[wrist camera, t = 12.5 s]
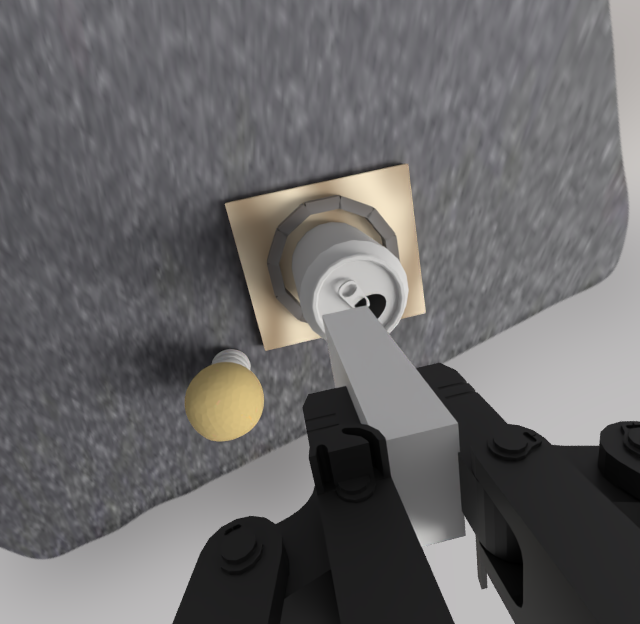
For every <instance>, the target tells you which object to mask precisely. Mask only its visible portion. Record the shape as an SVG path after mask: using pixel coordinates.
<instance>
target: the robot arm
mask: <svg viewBox="0 0 640 624" xmlns="http://www.w3.org/2000/svg"><path fill="white" fill-rule="evenodd" d="M322 318H323V323H324V329H325V334H326V339H327V345H328V350H329V356H330V361H331V366H332V372H333V377H334V382H335V388H334V389H330V390H325V391H321V392H317V393H312V394H308V396H307V399H306V401H305V403H304V405H303V413H304V418H305V424H306V429H307V434H308V440H309V445H310V450H309V461H310V465H311V470H312V474H313V478H314V483H315V487H314V491H313V494H312V495H311V497H310V498H309V500H308V502H307V503H306V504H305V505H304V506H303V507H302V508H301V509H300V510H299V511H297V512H296V513H294V514H293V515H291V516H290V517H288V518H286V519H285V520H283V521H281V522H279V523H277V524H274V523H273V522H271V521H270V520H268V519H266V518H264V517H256V516H249V517H244V518H240V519H236V520H234V521H232V522H230V523H228V524H227V525H224V526H223V527H221V528H220V529H219V530H218V531H217V532H216V533H215V534H214V535H213V536H212V537H210V538H209V540H208V541H207V543H206V545H205V546H204V548H203V550H202V551H201V553H200V556H199V558H198V561H197V563H196V565H195V568H194V571H193V573H192V576H191V578H190V581H189V583H188V586H187V588H186V591H185V593H184V596H183V598H182V601H181V603H180V606H179V608H178V611H177V613H176V616H175V619H174V621H173V624H455V623H454V621H453V619H452V617H451V614H450V612H449V610H448V607H447V605H446V603H445V600H444V598H443V596H442V593H441V591H440V589H439V587H438V584H437V582H436V580H435V577H434V575H433V573H432V570H431V568H430V565H429V563H428V561H427V559H426V556H425V554H424V552H423V549H422V547H424V546H428V545H432V544H435V543H439V542H443V541H447V540H451V539H454V538H459V537H462V536H465V520H464V516H465V517H466V519H467V521H468V522H469V524H470V526H471V527H472V529H473V531H474V532H475V534H476V550H477V566H478V567H477V568H478V579H479V582H480V585H481V588H482V589H485V588H487V574H488V576H489V578H490V579H491V581H492V583H493V585H494V587H495V588H496V590H497V592H498V594H499V595H500V597H501V599H502V601H503V603H504V604H505V606H506V608H507V610H508V612H509V614H510V615H511V617H512V619H513V621H514V623H515V624H640V422H638V421H627V422H626V421H625V422H618V423H614V424H611V425H608V426H607V427H606V428H604V429H603V430H602V431H601V433H600V444H599V446H559V445H551V444H550V443H549V442H548V441H547V440H546V439H545V438H544V437H542V436H541V435H539V434H538V433H536V432H535V431H533V430H531V429H528V428H525V427H522V426H519V425H512V424H507V423H506V422H505V421H504V420H503V419H502V418H501V416H500V415H499V414H498V413H497V412H496V411H495V410H494V409H493V408H492V407H491V406H490V405H489V404H488V403H487V402H486V401H485V400H484V399H483V398H482V397H481V396H480V395H479V394H478V393H476V392H475V390H474V388H473V387H472V386H471V385H470V384H469V383H467V382H466V380H465V379H464V378H463V377H462V376H461V375H460V374H459V373H458V372H457V371H456V370H454V369H452V368H450V367H447V366H445V365H443V364H441V363H437V364H432V365H428V366H423V367H419V368H415V367H414V366H413V364H412V363H411V362H410V360H409V359H408V358H407V357H406V355H405V354H404V353H403V351H402V350H401V349H400V348H399V346H398V345H397V344H396V342H395V341H394V340H393V339H392V337H391V336H390V335H389V333H388V332H387V331H386V329H385V328H384V327H383V326H382V324H381V323H380V322H379V320H378V319H377V318H376V317H375V315H374V314H373V313H372V311H371V310H370V309H369V308H368V306H367V305H366V306H362V307H357V308H352V309H348V310H343V311H339V312H334V313H329V314H325V315H322Z"/></svg>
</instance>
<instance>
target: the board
mask: <svg viewBox="0 0 640 624" xmlns="http://www.w3.org/2000/svg"><path fill="white" fill-rule="evenodd" d="M225 206H226V210H227V213H228V217H229V221H230V224H231V228H232V232H233V235H234V239H235V242H236V246H237V250H238V253H239V257H240V261H241V264H242V268H243V271H244V275H245V279H246V282H247V286H248V290H249V293H250V297H251V300H252V304H253V308H254V311H255V315H256V319H257V322H258V326H259V329H260V333H261V337H262V340H263V344H264V348H265V351H267V350H271V349H275V348H279V347H284V346H288V345H292V344H296V343H301V342H305V341H309V340H313V339H317V338H322V337H320V336H319V335H318V334H317V333H315V332H314V331H313V330H312V329H311V327H310V326H309V324H308V323H307V321H306V320H305V318H304V316H303V312H302V308H301V305H300V301H299V297H298V293H297V288H296V284H295V280H294V276H293V272H292V255H293V253H294V250H295V248H296V245H297V243H298V242H299V241H300V239H301V238H302V237H303V236H304V235H305V233H306V232H308V231H309V230H311V229H313V228H314V227H316V226H317V225H320V224H324V223H328V222H340V223H346V224H348V225H351V226H353V227H355V228H357V229H359V230H360V231H362V232H363V233H365V234H366V235H368V236H369V237H371V238H372V239H373V240H375V241H376V242H378V243H379V244H381V245H382V246H384V247H385V248H387V249H388V250H389V251H390V252H391V253H392V254H393V255H394V256H395V257H396V258H397V259H399V261H400V263H401V265H402V267H403V269H404V271H405V273H406V276H407V282H408V289H409V291H408V297H407V303H406V307H405V309H404V313H403V315H402V317H401V319H402V318H406V317H410V316H415V315H419V314H423V313H426V312H425V303H424V295H423V286H422V278H421V269H420V261H419V252H418V244H417V235H416V227H415V218H414V210H413V201H412V193H411V184H410V176H409V167H408V164H400V165H396V166H391V167H387V168H382V169H378V170H373V171H368V172H364V173H359V174H355V175H350V176H346V177H341V178H336V179H332V180H327V181H323V182H318V183H313V184H309V185H304V186H300V187H295V188H291V189H286V190H281V191H277V192H272V193H268V194H263V195H259V196H254V197H249V198H245V199H240V200H236V201H231V202H227V203H225Z"/></svg>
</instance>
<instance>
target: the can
mask: <svg viewBox="0 0 640 624" xmlns="http://www.w3.org/2000/svg"><path fill="white" fill-rule="evenodd" d="M292 272H293V276H294V280H295V284H296V288H297V293H298V297H299V301H300V305H301V308H302V312H303V316H304V318H305V320H306V321H307V323H308V324H309V326H310V327H311V329H312V330H313V331H314V332H315V333H317V334H318V335H319V336H320V337H322V338H323V339H324V340H326V341H327V339H326V334H325V329H324V323H323V318H322V315H325V314H329V313H334V312H339V311H343V310H348V309H352V308H357V307H362V306H366V305H367V306H368V308H369V309H370V310H371V311H372V313H373V314H374V315H375V317H376V318H377V319H378V320H379V322H380V323H381V324H382V326H383V327H384V328H385V329H386V331H387V332H388V333H390V332H391V331H392V330H393V329H394V328H395V327H396V326H397V325H398V323H399V321H400V319H401V317H402V315H403V313H404V309H405V307H406V303H407V297H408V291H409V289H408V282H407V276H406V273H405V271H404V269H403V267H402V265H401V263H400V261H399V259H397V258H396V257H395V256H394V255H393V254H392V253H391V252H390V251H389V250H388V249H387V248H385V247H384V246H382V245H381V244H379V243H378V242H376V241H375V240H373V239H372V238H371V237H369V236H368V235H366V234H365V233H363V232H362V231H360V230H359V229H357V228H355V227H353V226H351V225H348V224H346V223H340V222H328V223H324V224H320V225H317V226H316V227H314V228H313V229H311V230H309V231H308V232H306V233H305V235H304V236H303V237H302V238H301V239H300V241H299V242H298V243H297V245H296V248H295V250H294V253H293V255H292Z"/></svg>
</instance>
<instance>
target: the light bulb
mask: <svg viewBox="0 0 640 624" xmlns="http://www.w3.org/2000/svg"><path fill="white" fill-rule="evenodd" d="M250 367H251V366H250V361H249V359H248V357H247V356H246V355H245V354H244V353H242V352H241V351H239V350H235V349H227V350H223V351H221V352H219V353H218V354H217V355H216V356H215V357H214V359H213V361H212V365H210V366H208V367H206V368H204V369H203V370H201V371H200V372H199V373H198V374H197V375H196V376H195V377H194V378H193V380H192V381H191V383H190V384H189V386H188V389H187V391H186V396H185V410H186V414H187V417H188V419H189V421H190V423H191V425H192V426H193V427H194V428H195V430H196V431H197V432H198V433H200V434H201V435H202V436H204V437H205V438H207V439H209V440H212V441H227V440H232V439H235V438H238V437H240V436H242V435H244V434H246V433H247V432H249V431H250V430H251V429H252V428H253V427H254V426H255V425H256V424H257V422H258V420H259V418H260V416H261V414H262V410H263V405H264V395H263V390H262V387H261V384H260V382H259V380H258V379H257V377H256V376H255V375H254V374H253V373H252V372H251V371H250Z"/></svg>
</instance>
